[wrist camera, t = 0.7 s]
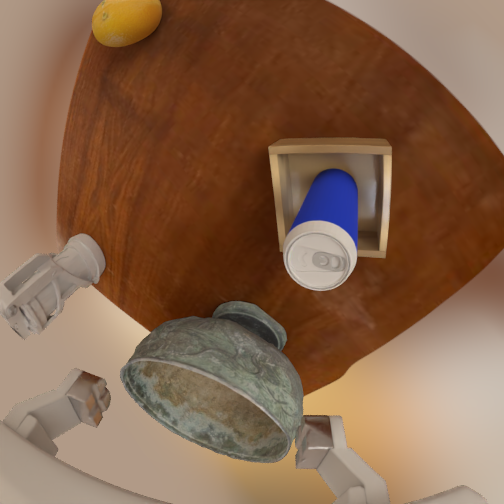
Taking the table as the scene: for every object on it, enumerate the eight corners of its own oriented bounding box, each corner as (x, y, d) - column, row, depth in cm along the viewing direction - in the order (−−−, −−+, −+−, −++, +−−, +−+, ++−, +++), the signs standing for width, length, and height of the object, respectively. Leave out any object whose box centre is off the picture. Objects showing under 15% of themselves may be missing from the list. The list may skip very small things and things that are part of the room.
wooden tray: (280, 139, 29) (267, 146, 26) (385, 139, 25) (391, 146, 22) (289, 232, 35) (279, 251, 31) (382, 236, 31) (385, 258, 27)
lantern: (106, 281, 56) (30, 357, 36) (75, 256, 56) (0, 322, 37) (109, 239, 48) (11, 323, 28) (75, 213, 49) (-19, 282, 29)
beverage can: (312, 208, 32) (280, 288, 20) (312, 165, 30) (277, 223, 18) (356, 212, 31) (351, 298, 19) (358, 168, 28) (361, 231, 16)
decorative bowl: (236, 382, 58) (200, 457, 41) (156, 297, 52) (92, 370, 36) (348, 356, 44) (330, 464, 28) (262, 236, 38) (191, 344, 22)
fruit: (162, -17, 21) (120, -29, 15) (182, 22, 24) (139, 12, 18) (117, 20, 26) (74, 18, 19) (133, 59, 29) (89, 60, 22)
